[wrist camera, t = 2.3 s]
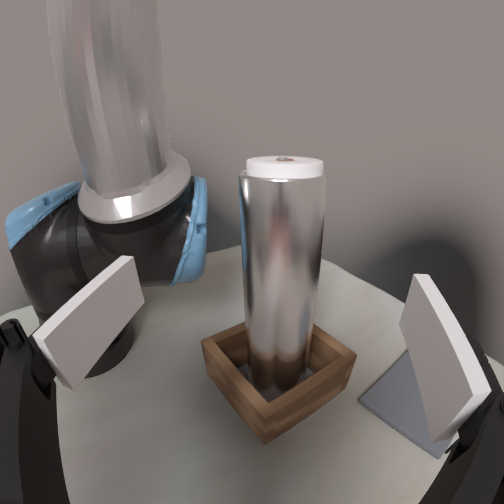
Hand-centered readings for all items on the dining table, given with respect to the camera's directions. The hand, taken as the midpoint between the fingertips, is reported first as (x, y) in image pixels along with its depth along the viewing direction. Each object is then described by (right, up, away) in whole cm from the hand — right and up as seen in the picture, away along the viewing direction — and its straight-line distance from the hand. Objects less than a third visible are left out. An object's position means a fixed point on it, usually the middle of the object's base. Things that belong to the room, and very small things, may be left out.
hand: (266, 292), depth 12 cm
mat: (+21, -16, +13) cm, 29 cm away
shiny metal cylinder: (+2, -14, +18) cm, 23 cm away
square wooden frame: (+2, -14, +18) cm, 23 cm away
